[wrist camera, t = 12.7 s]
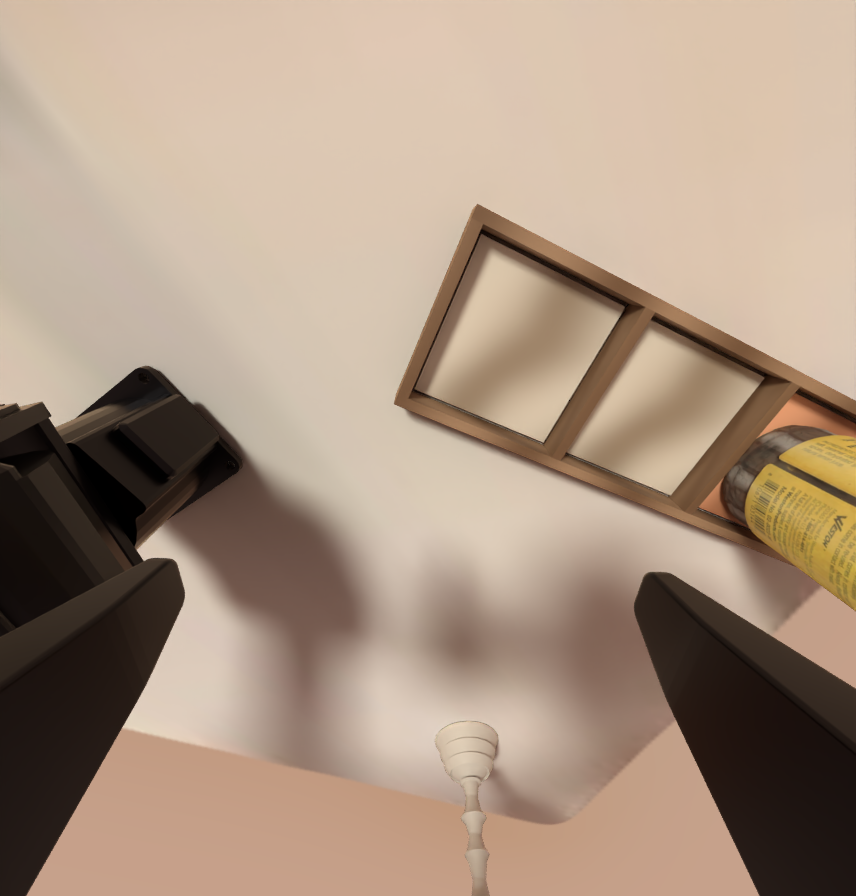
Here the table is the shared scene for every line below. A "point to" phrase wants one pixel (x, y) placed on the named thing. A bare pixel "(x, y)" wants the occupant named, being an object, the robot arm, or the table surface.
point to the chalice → (470, 784)
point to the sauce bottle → (801, 501)
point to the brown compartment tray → (601, 378)
